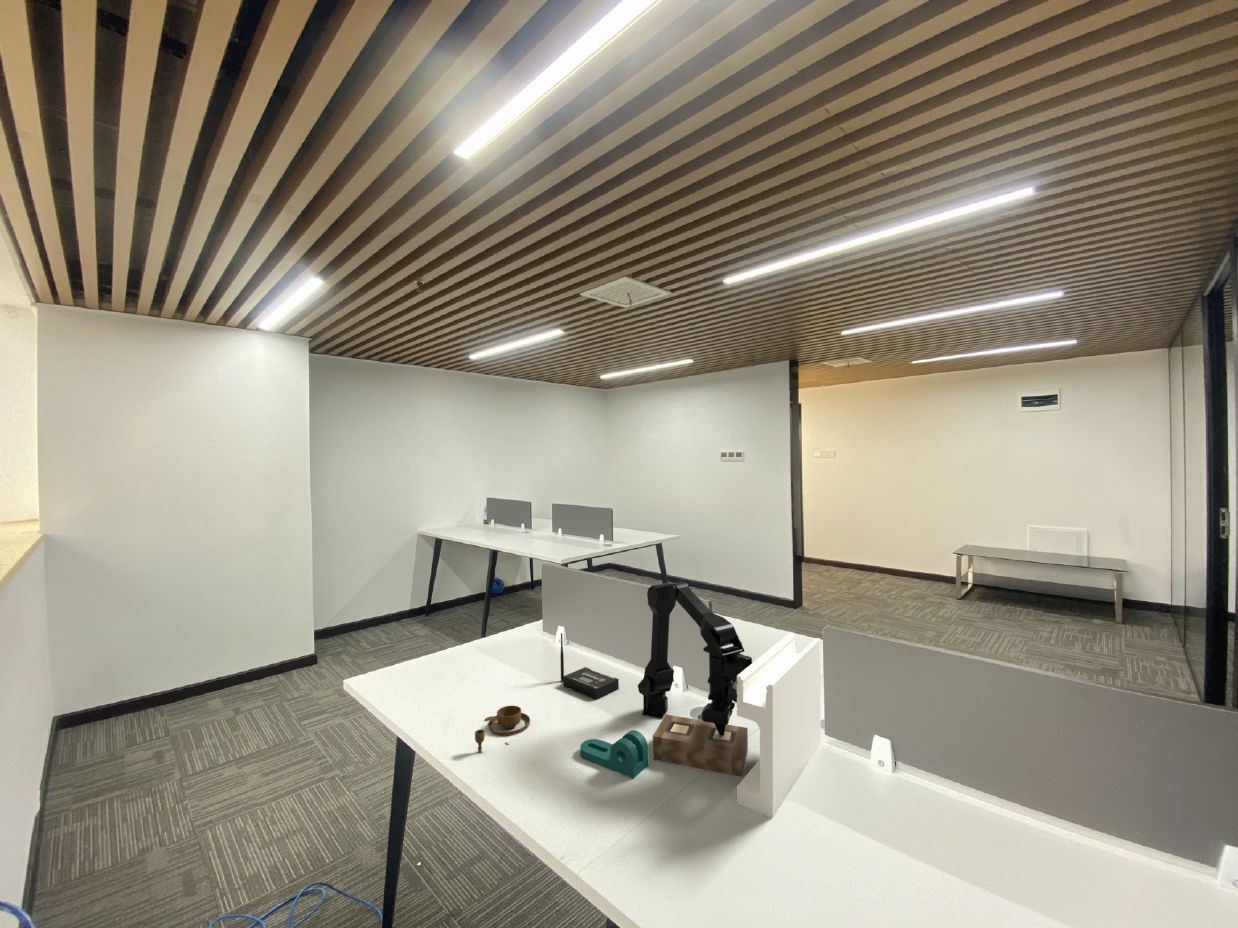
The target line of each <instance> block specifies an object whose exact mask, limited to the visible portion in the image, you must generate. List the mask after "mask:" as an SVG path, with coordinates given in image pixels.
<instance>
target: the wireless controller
mask: <svg viewBox="0 0 1238 928" xmlns="http://www.w3.org/2000/svg"><path fill="white" fill-rule="evenodd" d="M563 645H564V643H563V633H562V632H561V633H560V658H559V659H560V682H561V683H563V687H564V688H567V689H569V690H572V691H574V692H576V693H579V694H581V695H583V696H585V697H588V698H591V699H593V700H596V701H598V700H600V699H602V698H604V697H606V696H608V695H610V694H612V693H614V692H617V691H618V690H620V689H619V678H616V677H613V676H612V677H611V676H609V675H607V674H605V673H601V672H599V671H595V670H593V669H591V668H589V667H587V666H586V667H583V668H580V669H578V670H575V671H573V672H571V673H568V674H566V675H565V666H564V665H565V660H564V646H563Z"/></svg>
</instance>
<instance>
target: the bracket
mask: <svg viewBox="0 0 1238 928" xmlns="http://www.w3.org/2000/svg"><path fill="white" fill-rule="evenodd" d="M579 748H580V749H579V750H580V754H579V755H580V757H581V758H582V760H584V761H587V762H590V763H591V764H595V765H597V766H599V767H602V768H605V769H607V770H610V771H612V772H615V773H616V774H617V773H618V774H620V775H622V776H625V777H627V778H630V779H633V780H635V778H636V777H638V775H640V774H641V773H642V772H643V771H644V770H645V769H646V768H648V766H649V745H648V742H647V739H646V737H645V736H644V735H643V734H642V733H641V732H640V731H638V730H636V729H632V730H629V731H628V732H627V733H625V734H624V735H622V737H621V738H619V739H618V740H617V741H615V742H614V743H610V742H607V741H604V740H603V739H598V738H591V739H587V740H584V741H583V742H582V743H580V746H579Z"/></svg>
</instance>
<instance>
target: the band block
mask: <svg viewBox="0 0 1238 928" xmlns="http://www.w3.org/2000/svg"><path fill="white" fill-rule="evenodd" d="M674 724H678V725H684V726H689V731H688V733H687V734H681V733H676V732H670V731H671V729H672V727H673V725H674ZM715 730H717V728H716V726H715V724H714V723H710V722H704V721H703V720H702V719H696V718H689V717H683V716H677V715H672V714H665V715H664V716H663V718H662V720H661V722H659V725H658V726H657V729H656V730H655V731H654V733H653V734H652V760H653V761H656V762H662V763H668V764H673V765H677V766H678V765H679V766H683V767H688V768H693V769H697V770H703V771H707V772H713V773H718V774H724V775H727V776H732V777H733V776H734V777H736V778H737V777H738V778H743V777H742V776H743V773H744V770H745V769H744V768H745V765H746V760H747V757H748V753H749V742H748V741H749V740H748V736H749V735H748V730H749V729H748V727H744V726H739V725H732V724H727V725H726V729H725V731H727V732H731V737H732V738H731V741H730V742H727V741H721V740H715V739H713V735H714V733H715Z"/></svg>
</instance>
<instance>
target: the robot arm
mask: <svg viewBox="0 0 1238 928" xmlns="http://www.w3.org/2000/svg"><path fill="white" fill-rule="evenodd" d="M646 596H647V606H648V607H649V609H650V610H651V612H652V623H651V627H652V628H651V646H650V660H649V661H648V662H647V665H646V666H645V668H644V674H643V678H642V679H641V681H639V683H638V684H637V689H638V692H639V694H641V695H642V699H643V710H642V711H641V716H644V717H649V718H650V717H651V718H656V719H663V718H664V717H665V715H667V712H668V710H669V703H668V702H669V701H668V699H669V698H668V696H667V692H670V691H671V689H672V685H673V683H674V682H675V679H674V674H675V670H674V668H673V667H671V665H670V663H669V662H668V656H669V655H668V653H669V637H670V636H669V634H670V616H671V613H672V612H673V610H674V608H675V606H676V602H677V603H678V604H679V605H680V606H681V607H682V608H683V610H684V611H685V612H686V613H687V614H688V615H689V616H690V617H691V618H692V620H693V621H694V622H695V623H696V624H697V625H698V627H699V632H700V633H699V634H700V636H701V638H702V640H704V642H705V643H706V646H704V647H703V649H702V650H703V651H704V652H705V653H708V665H709V667H708V668H709V676H708V678H707V684H709V693H708V695H707V699H708V701H710V702H708V703H707V704H705V705H704V707H703V709H702V712H701V720H703V721H704V722H710V723H714V724H715V726H716V728H717V730H718V733H719V735H721V736H724V734H725V729H726V725H729V723H730V720H731V716H732V715H733V710H734V708H735V707H736V706H735V705H736V704H737V696H738V695H737V683H738V682H737V675H739V674H740V673H741V672H742V671H743V670H745V669H746V668H747V667H748V666H750V665H751V664H752V663H753V658H752V656H749V655H745V654H743V653H744V652H745V649H744V646H743V643H742V642H741V640H740V637H739V636H738V634H737V630H736V628H735V626H734V625H733V624H732V623H731V622H730V621H729V620H727V619H726V618H725V617H724V616H721V615H718V614H716V613H714V612H713V611H711V609H709V607H707V605H706V604H705V603H704V602H703V601H702V600H701V599H700V598H699V597H698V596H697V595H696V593H694V592H693V590H692V589H691V588H690V586H689V584H688V583H687V582H684V581H680V582H674V583H672V582H665V583H660V584H652V585H650V587H648V588H647V594H646ZM729 645H732V646H729ZM726 646H727V647H726Z"/></svg>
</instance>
